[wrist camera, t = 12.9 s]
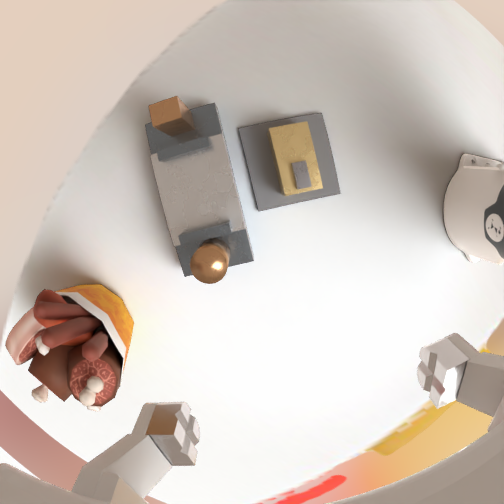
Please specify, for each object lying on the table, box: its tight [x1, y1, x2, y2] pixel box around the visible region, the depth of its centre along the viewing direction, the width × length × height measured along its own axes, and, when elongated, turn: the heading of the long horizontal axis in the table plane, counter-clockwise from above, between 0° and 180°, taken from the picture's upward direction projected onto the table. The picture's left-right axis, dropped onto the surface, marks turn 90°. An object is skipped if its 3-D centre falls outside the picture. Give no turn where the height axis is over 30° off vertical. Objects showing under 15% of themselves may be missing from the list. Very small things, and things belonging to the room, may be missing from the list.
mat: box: [238, 113, 340, 211], centre depth 34 cm, size 11×11×1 cm
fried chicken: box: [5, 284, 134, 412], centre depth 30 cm, size 20×16×20 cm
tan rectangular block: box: [267, 121, 323, 196], centre depth 32 cm, size 8×4×5 cm, turn 13°
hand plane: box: [145, 96, 254, 284], centre depth 31 cm, size 20×9×10 cm, turn 13°
